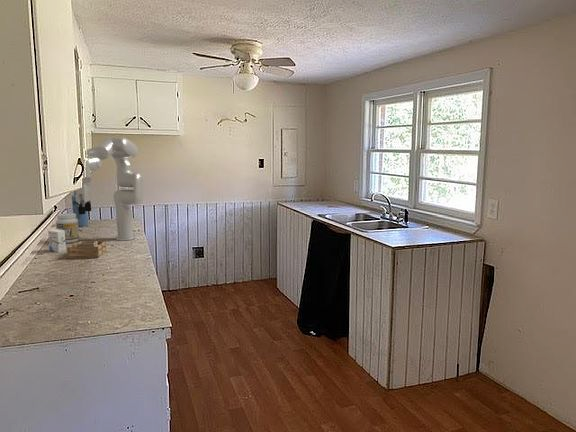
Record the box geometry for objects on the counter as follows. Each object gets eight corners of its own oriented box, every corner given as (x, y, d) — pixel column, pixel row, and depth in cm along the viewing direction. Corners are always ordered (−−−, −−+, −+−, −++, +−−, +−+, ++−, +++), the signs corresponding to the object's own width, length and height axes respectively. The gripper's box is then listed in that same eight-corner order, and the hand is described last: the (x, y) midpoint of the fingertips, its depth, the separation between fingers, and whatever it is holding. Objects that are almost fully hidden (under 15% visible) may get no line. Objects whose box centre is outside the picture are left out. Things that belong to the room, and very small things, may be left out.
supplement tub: (55, 243, 268) (53, 216, 265) (59, 239, 279) (57, 213, 276) (77, 242, 271) (75, 215, 268) (80, 238, 283) (78, 212, 280)
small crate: (81, 252, 244) (80, 241, 243) (98, 251, 245) (97, 241, 244) (77, 254, 238) (76, 243, 237) (94, 254, 239) (93, 243, 238)
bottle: (91, 225, 330) (88, 185, 325) (81, 227, 321) (78, 186, 316) (81, 224, 333) (78, 184, 328) (70, 226, 324) (68, 185, 319)
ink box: (48, 250, 251) (47, 230, 249) (56, 248, 255) (55, 228, 253) (58, 252, 247) (57, 231, 245) (66, 250, 251) (65, 230, 249)
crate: (77, 252, 248) (76, 241, 247) (106, 251, 249) (105, 241, 249) (67, 258, 233) (67, 247, 233) (98, 258, 235) (97, 246, 234)
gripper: (81, 179, 243) (83, 210, 246) (69, 182, 226) (72, 215, 229) (95, 179, 244) (97, 210, 247) (84, 182, 227) (87, 215, 230)
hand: (85, 212), depth 238 cm, fingers open, 9 cm apart
